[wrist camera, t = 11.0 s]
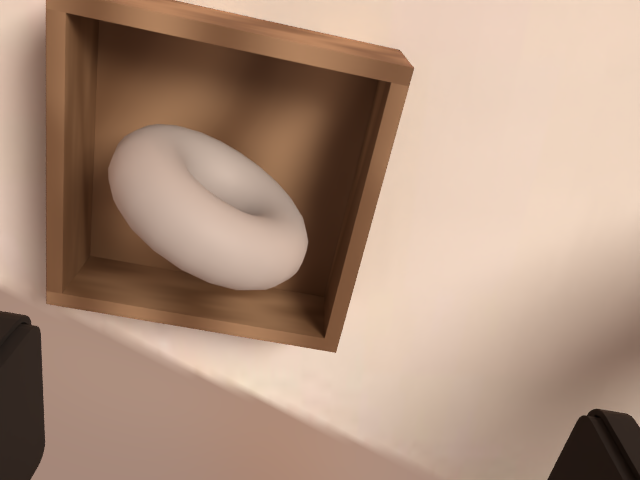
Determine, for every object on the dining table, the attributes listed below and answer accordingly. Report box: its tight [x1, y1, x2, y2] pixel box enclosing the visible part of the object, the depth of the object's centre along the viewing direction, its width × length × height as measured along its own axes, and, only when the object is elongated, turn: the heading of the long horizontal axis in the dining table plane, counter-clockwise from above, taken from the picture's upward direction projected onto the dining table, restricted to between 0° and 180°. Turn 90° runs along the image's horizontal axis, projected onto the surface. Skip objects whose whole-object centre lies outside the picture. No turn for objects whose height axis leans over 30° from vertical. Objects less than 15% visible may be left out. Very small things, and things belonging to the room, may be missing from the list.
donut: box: [108, 124, 308, 290], centre depth 27 cm, size 10×3×10 cm, turn 54°
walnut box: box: [46, 0, 414, 353], centre depth 30 cm, size 16×16×5 cm
